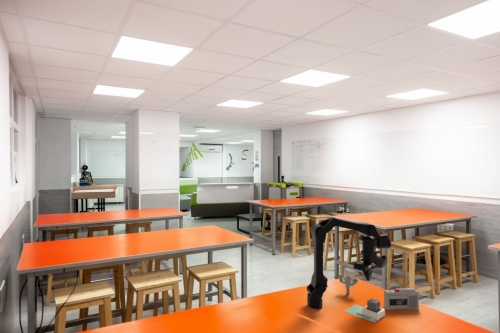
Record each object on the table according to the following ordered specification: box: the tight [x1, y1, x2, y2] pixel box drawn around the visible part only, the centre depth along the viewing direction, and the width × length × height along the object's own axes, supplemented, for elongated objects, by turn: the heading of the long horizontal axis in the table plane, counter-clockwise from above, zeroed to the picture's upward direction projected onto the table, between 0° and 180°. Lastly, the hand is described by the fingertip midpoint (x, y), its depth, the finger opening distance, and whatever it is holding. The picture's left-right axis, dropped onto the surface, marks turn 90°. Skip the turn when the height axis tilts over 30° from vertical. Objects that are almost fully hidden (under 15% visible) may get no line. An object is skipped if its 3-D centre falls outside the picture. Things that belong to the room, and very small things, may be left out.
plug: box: [366, 298, 381, 313], centre depth 146 cm, size 4×4×6 cm
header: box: [362, 305, 386, 321], centre depth 146 cm, size 8×7×3 cm
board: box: [343, 304, 387, 324], centre depth 147 cm, size 15×11×1 cm
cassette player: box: [383, 287, 420, 311], centre depth 152 cm, size 16×3×10 cm, turn 94°
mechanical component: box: [338, 274, 359, 295], centre depth 169 cm, size 3×10×10 cm, turn 43°
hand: (368, 280), depth 157 cm, fingers closed
